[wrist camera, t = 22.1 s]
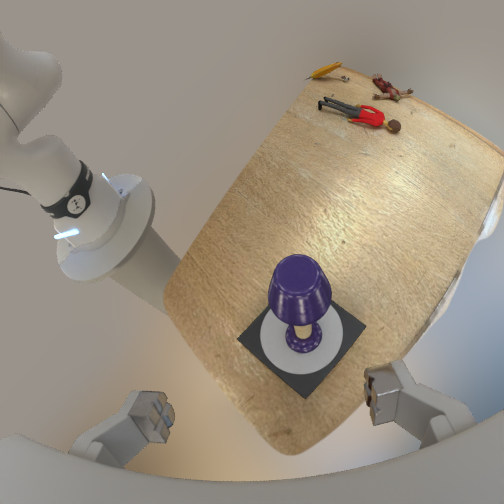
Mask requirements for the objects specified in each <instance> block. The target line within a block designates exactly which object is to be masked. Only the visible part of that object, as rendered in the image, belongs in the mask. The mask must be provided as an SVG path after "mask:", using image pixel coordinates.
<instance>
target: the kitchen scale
mask: <svg viewBox="0 0 504 504" xmlns="http://www.w3.org/2000/svg"><path fill="white" fill-rule="evenodd" d="M317 323H318V324H319V326H320V327H321V330H322V340H321V342H320V344H319V346H318V347H317V348H316V349H315V350H313V351H311V352H309V353H298V352H295V351H293V350H292V349H291V348H289V346H288V345H287V342H286V338H285V334H286V330H287V328H288V326H289V325H288V324H286V323H284V322H282V321H281V320H279V319H278V318H277V317H276V316H275V315H274V313H273V312H272V310H271V308H270V305H268V306H267V307H266V308H265V309H264V310H263V311H262V313H261V314H260V315H259V316H258V317H257V318H256V319H255V320H254V321H253V322H252V324H251V325H250V326H249V327H248V328H247V329H246V330H245V331H244V332H243V333H242V334H241V335H240V336H239V337H238V338H237V340H238V341H239V342H241V343H242V344H243V345H244V346H245V347H246V348H247V349H248V350H249V351H250V352H251V353H253V354H254V355H255V356H256V357H257V358H258V359H259V360H260V361H261V362H263V363H264V364H265V365H266V366H267V367H268V368H269V369H270V370H272V371H273V372H274V373H275V374H276V375H277V376H278V377H280V378H281V379H282V380H283V381H284V382H285V383H287V384H288V385H289V386H290V387H291V388H293V389H294V390H295V391H296V392H297V393H298V394H300V395H301V396H302V397H303V398H305V399H306V398H307V397H308V396H309V395H310V394H311V393H312V392H313V391H314V390H315V388H316V387H317V386H318V385H319V384H320V383H321V382H322V381H323V379H324V378H325V377H326V376H327V375H328V374H329V373H330V371H331V370H332V369H333V368H334V367H335V365H336V364H337V363H338V362H339V361H340V359H341V358H342V357H343V356H344V355H345V353H346V352H347V351H348V350H349V348H350V347H351V346H352V344H353V343H354V342H355V341H356V339H357V338H358V337H359V335H360V334H361V333H362V332H363V330H364V329H365V328H366V325H364V324H363V323H362V322H360V321H359V320H358V319H356V318H355V317H354V316H352V315H351V314H350V313H348V312H347V311H346V310H344V309H343V308H342V307H340V306H339V305H338V304H336V303H335V302H334V301H332V300H331V304H330V307H329V309H328V311H327V312H326V313H325V315H324V316H323V317H322V318H321V319H320V320H318V321H317Z"/></svg>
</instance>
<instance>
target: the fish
mask: <svg viewBox="0 0 504 504" xmlns="http://www.w3.org/2000/svg"><path fill="white" fill-rule="evenodd" d="M341 64H342V63H341V62H336V63H334V64H331V65H328V66H325V67H322V68H320V69H318V70H316V71H315V72H314V73H313V74H312V75H311V77H309V78H308V79H310V78H319V77H321V76H324V75H326V74H328V73H330V72H331V71H333V70H335V69H337V68H339V67H340V66H341Z"/></svg>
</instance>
